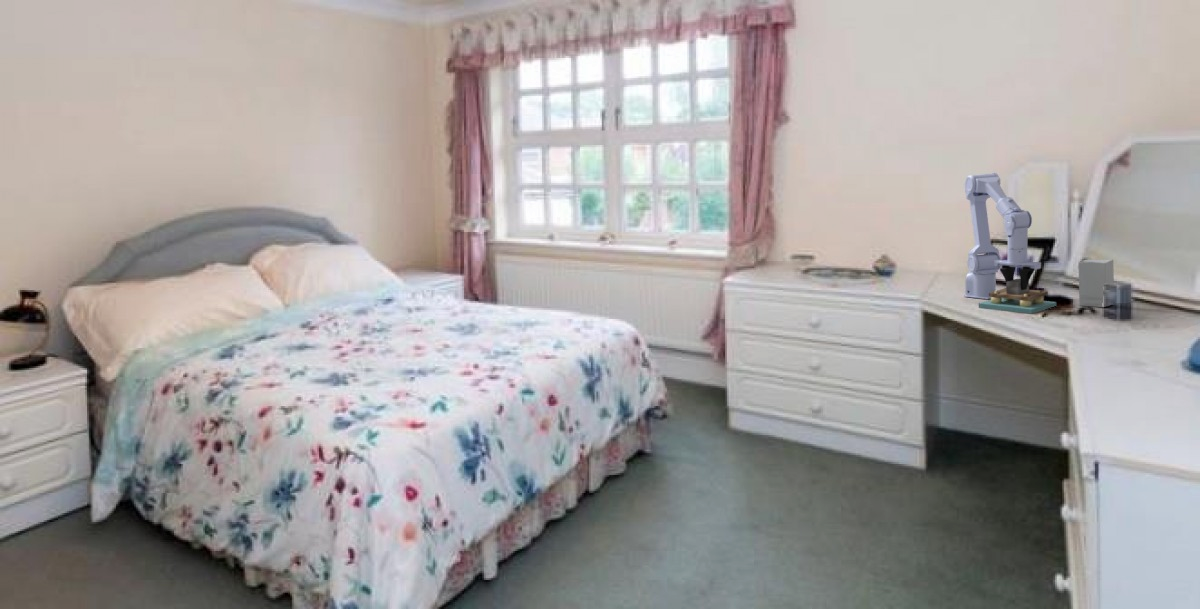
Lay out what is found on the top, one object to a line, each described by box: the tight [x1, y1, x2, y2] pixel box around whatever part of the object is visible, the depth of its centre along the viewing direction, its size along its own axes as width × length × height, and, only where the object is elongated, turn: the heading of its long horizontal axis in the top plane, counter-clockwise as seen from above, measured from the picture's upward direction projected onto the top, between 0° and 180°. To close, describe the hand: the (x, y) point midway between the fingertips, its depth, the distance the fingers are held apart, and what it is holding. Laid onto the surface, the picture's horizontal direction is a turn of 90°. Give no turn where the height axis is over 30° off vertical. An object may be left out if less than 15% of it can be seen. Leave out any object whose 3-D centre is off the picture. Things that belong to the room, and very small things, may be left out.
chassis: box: [978, 290, 1057, 315], centre depth 247 cm, size 18×14×6 cm
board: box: [989, 278, 1049, 301], centre depth 247 cm, size 14×10×5 cm
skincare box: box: [1078, 258, 1115, 308], centre depth 239 cm, size 8×6×15 cm
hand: (1016, 288), depth 246 cm, fingers closed on board, 4 cm apart
